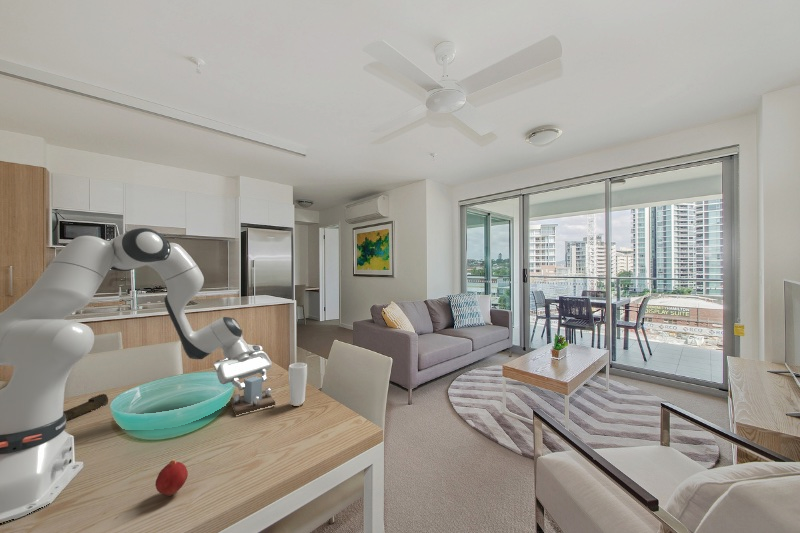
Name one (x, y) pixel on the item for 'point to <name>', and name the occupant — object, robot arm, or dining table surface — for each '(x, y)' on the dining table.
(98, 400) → the rusty brown artillery shell
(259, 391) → the block
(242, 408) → the peg board
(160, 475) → the onion
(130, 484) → the dining table surface
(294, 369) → the drinking glass
